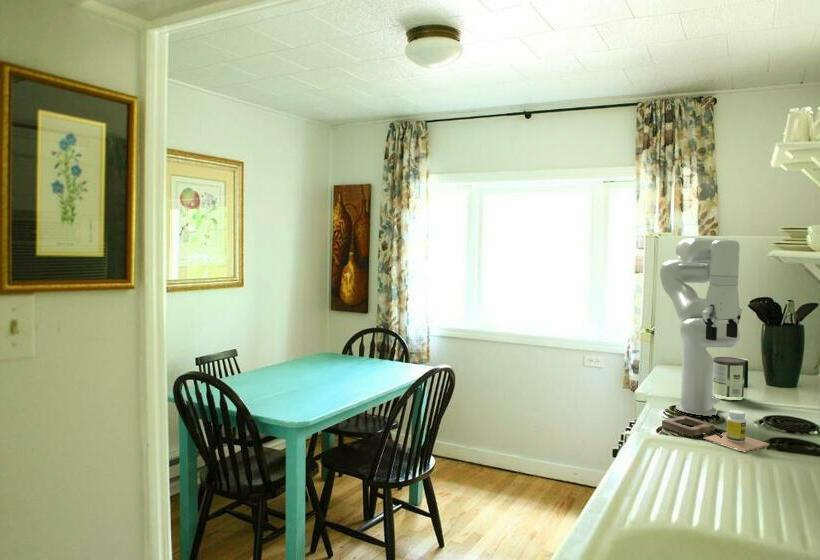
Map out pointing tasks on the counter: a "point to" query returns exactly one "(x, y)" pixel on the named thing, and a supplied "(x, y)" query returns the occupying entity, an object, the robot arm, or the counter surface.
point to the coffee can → (728, 376)
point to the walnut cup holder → (677, 426)
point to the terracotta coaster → (745, 446)
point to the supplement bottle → (736, 426)
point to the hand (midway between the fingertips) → (721, 338)
